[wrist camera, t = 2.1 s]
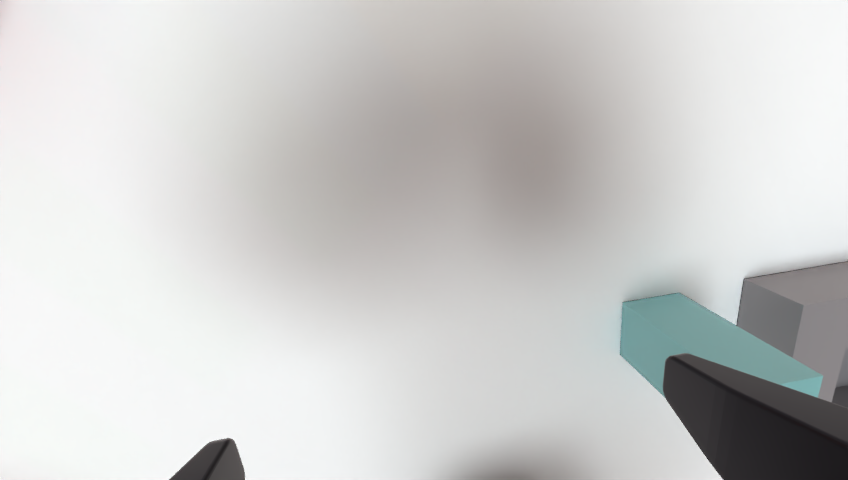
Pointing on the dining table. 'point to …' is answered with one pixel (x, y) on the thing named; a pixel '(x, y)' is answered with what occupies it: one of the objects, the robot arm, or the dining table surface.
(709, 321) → the teal rectangular block
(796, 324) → the socket block
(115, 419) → the dining table surface
